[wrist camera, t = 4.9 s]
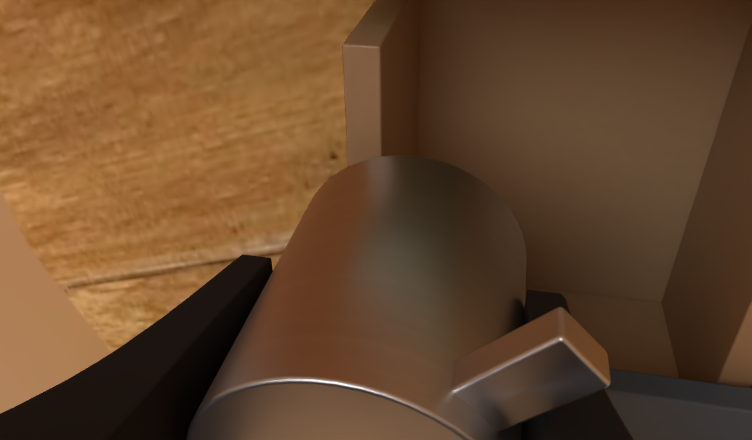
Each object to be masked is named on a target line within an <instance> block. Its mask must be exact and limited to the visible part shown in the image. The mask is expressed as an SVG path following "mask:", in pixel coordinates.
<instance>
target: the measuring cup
mask: <svg viewBox="0 0 752 440" xmlns="http://www.w3.org/2000/svg"><path fill="white" fill-rule="evenodd" d="M525 293H526V247H525V241H524V238H523V234H522V231H521V229H520V226H519V224H518V222H517V219H516V218H515V216H514V215H513V213H512V212H511V210H510V208H509V207H508V206H507V205H506V203H505V202H504V201H503V200H502V199H501V197H500V196H499V195H498V194H497V193H496V192H495V191H493V190H492V189H491V188H490V187H489V186H488V185H487V184H485V183H484V182H482V181H481V180H480V179H478V178H477V177H475V176H474V175H472V174H470V173H468V172H466V171H464V170H463V169H461V168H458V167H456V166H453V165H451V164H448V163H446V162H442V161H439V160H435V159H431V158H426V157H419V156H411V155H392V156H382V157H377V158H372V159H367V160H365V161H362V162H359V163H356V164H353V165H351V166H349V167H347V168H345V169H343V170H341V171H340V172H338V173H337V174H336V175H334V176H333V177H331V178H330V179H329V180H328V181H327V182H326V183H325V184H324V185H323V186H322V187H321V188H320V189H319V190H318V192H317V193H316V194H315V196H314V197H313V199H312V200H311V202H310V204H309V206H308V208H307V210H306V211H305V213H304V215H303V217H302V219H301V221H300V222H299V224H298V226H297V228H296V230H295V232H294V233H293V235H292V237H291V239H290V241H289V243H288V244H287V246H286V248H285V250H284V252H283V254H282V256H281V257H280V259H279V261H278V263H277V265H276V267H275V268H274V270H273V272H272V274H271V276H270V278H269V279H268V281H267V283H266V285H265V287H264V289H263V290H262V292H261V294H260V296H259V298H258V300H257V301H256V303H255V305H254V307H253V309H252V311H251V312H250V314H249V316H248V318H247V320H246V322H245V324H244V325H243V327H242V329H241V331H240V333H239V335H238V336H237V338H236V340H235V342H234V344H233V346H232V347H231V349H230V351H229V353H228V355H227V357H226V358H225V360H224V362H223V364H222V366H221V368H220V369H219V371H218V373H217V375H216V377H215V379H214V381H213V382H212V384H211V386H210V388H209V390H208V392H207V393H206V395H205V397H204V399H203V401H202V403H201V404H200V406H199V408H198V410H197V412H196V414H195V415H194V417H193V419H192V421H191V423H190V425H189V428H188V433H187V437H186V440H521V434H522V423H523V422H526V421H528V420H530V419H533V418H535V417H538V416H540V415H542V414H545V413H547V412H550V411H552V410H554V409H557V408H559V407H561V406H564V405H566V404H569V403H571V402H573V401H576V400H578V399H581V398H583V397H585V396H588V395H590V394H593V393H595V392H597V391H600V390H602V389H605V388H607V387H608V386H609V385H610V383H611V379H610V371H609V362H608V355H607V352H606V351H605V349H604V348H603V347H602V346H601V345H600V344H599V343H598V342H597V341H596V340H595V339H594V338H593V337H592V336H591V335H590V334H589V333H588V332H587V331H586V330H585V329H584V328H583V327H582V326H581V325H580V324H579V323H578V322H577V321H576V320H575V319H574V318H573V317H572V316H571V315H570V314H569V313H568V312H567V311H566V310H565V309H564V308H562V307H558V308H555V309H554V310H552V311H550V312H548V313H546V314H544V315H542V316H540V317H538V318H536V319H534V320H532V321H530V322H528V323H527V324H525V325H524V307H525Z"/></svg>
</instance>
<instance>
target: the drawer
mask: <svg viewBox="0 0 752 440" xmlns="http://www.w3.org/2000/svg"><path fill="white" fill-rule="evenodd" d="M342 49H343V71H344V92H345V114H346V135H347V157H348V167H349V166H351V165H353V164H356V163H359V162H362V161H365V160H367V159H372V158H377V157H382V156H392V155H411V156H419V157H426V158H431V159H435V160H439V161H442V162H446V163H448V164H451V165H453V166H456V167H458V168H461V169H463V170H464V171H466V172H468V173H470V174H472V175H474V176H475V177H477V178H478V179H480V180H481V181H482V182H484V183H485V184H487V185H488V186H489V187H490V188H491V189H492V190H493V191H495V192H496V193H497V194H498V195H499V196H500V197H501V199H502V200H503V201H504V202H505V203H506V205H507V206H508V207H509V208H510V210H511V212H512V213H513V215H514V216H515V218H516V219H517V222H518V224H519V226H520V229H521V231H522V234H523V238H524V241H525V247H526V293H525V301H526V294H527V289H528V290H536V291H544V292H552V293H561V294H562V295H563V296H564V298H565V299H566V301H567V305H568V308H569V311H570V314H571V316H572V317H573V318H574V319H575V320H576V321H577V322H578V323H579V324H580V325H581V326H582V327H583V328H584V329H585V330H586V331H587V332H588V333H589V334H590V335H591V336H592V337H593V338H594V339H595V340H596V341H597V342H598V343H599V344H600V345H601V346H602V347H603V348H604V349H605V351H606V352H607V355H608V362H609V368H610V369H617V370H624V371H632V372H639V373H646V374H653V375H660V376H667V377H674V378H682V379H689V380H696V381H703V382H710V383H717V384H725V385H732V386H739V387H746V388H751V386H752V0H375V2H374V3H373V4H372V6H371V7H370V8H369V10H368V11H367V12H366V14H365V15H364V16H363V18H362V19H361V20H360V22H359V23H358V25H357V26H356V27H355V29H354V30H353V31H352V33H351V34H350V35H349V37H348V38H347V39H346V41H345V42H344V43H343V46H342Z"/></svg>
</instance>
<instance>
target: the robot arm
mask: <svg viewBox="0 0 752 440" xmlns="http://www.w3.org/2000/svg"><path fill="white" fill-rule="evenodd" d="M272 272H273V270H272V262H271V258H266V257H258V256H250V255H241V256H240V257H239V258H237V259H236V260H235V261H234V262H232V263H231V264H230V265H228V266H227V267H226V268H225V269H224V270H222V271H221V272H220V273H219V274H217V275H216V276H215V277H214V278H212V279H211V280H210V281H209V282H207V283H206V284H205V285H204V286H202V287H201V288H200V289H199V290H197V291H196V292H195V293H194V294H192V295H191V296H190V297H189V298H187V299H186V300H185V301H183V302H182V303H181V304H180V305H178V306H177V307H176V308H174V309H173V310H172V311H171V312H169V313H168V314H167V315H165V316H164V317H163V318H161V319H160V320H158V321H157V322H156V323H154V324H153V325H151V326H150V327H149V328H147V329H146V330H144V331H143V332H142V333H140V334H139V335H137V336H136V337H134V338H133V339H132V340H130V341H129V342H127V343H126V344H125V345H123V346H122V347H120V348H119V349H117V350H116V351H114V352H113V353H111V354H109V355H108V356H106V357H105V358H103V359H102V360H100V361H98V362H97V363H95V364H93V365H91V366H90V367H88V368H86V369H85V370H83V371H81V372H80V373H78V374H76V375H75V376H73V377H71V378H69V379H68V380H66V381H64V382H62V383H60V384H58V385H56V386H55V387H53V388H51V389H49V390H47V391H45V392H43V393H41V394H39V395H37V396H35V397H33V398H31V399H29V400H28V401H26V402H24V403H22V404H20V405H18V406H16V407H14V408H12V409H10V410H7V411H5V412H3V413H1V414H0V440H186V437H187V433H188V428H189V425H190V423H191V421H192V419H193V417H194V415H195V414H196V412H197V410H198V408H199V406H200V404H201V403H202V401H203V399H204V397H205V395H206V393H207V392H208V390H209V388H210V386H211V384H212V382H213V381H214V379H215V377H216V375H217V373H218V371H219V369H220V368H221V366H222V364H223V362H224V360H225V358H226V357H227V355H228V353H229V351H230V349H231V347H232V346H233V344H234V342H235V340H236V338H237V336H238V335H239V333H240V331H241V329H242V327H243V325H244V324H245V322H246V320H247V318H248V316H249V314H250V312H251V311H252V309H253V307H254V305H255V303H256V301H257V300H258V298H259V296H260V294H261V292H262V290H263V289H264V287H265V285H266V283H267V281H268V279H269V278H270V276H271V274H272ZM558 307H562V308H564V309H565V310H566V311H567V312H568V313H569V314H570V311H569V308H568V305H567V301H566V299H565V298H564V296H563V295H562V294H561V293H552V292H544V291H536V290H528V289H527V294H526V301H525V307H524V325H525V324H527V323H528V322H530V321H532V320H534V319H536V318H538V317H540V316H542V315H544V314H546V313H548V312H550V311H552V310H554V309H555V308H558ZM570 315H571V314H570ZM521 440H634V439H633V437H632V436H631V434H630V433H629V431H628V429H627V428H626V426H625V424H624V423H623V421H622V419H621V418H620V416H619V414H618V412H617V411H616V409H615V407H614V406H613V404H612V402H611V400H610V398H609V396H608V395H607V393H606V391H605V389H602V390H600V391H597V392H595V393H593V394H590V395H588V396H585V397H583V398H581V399H578V400H576V401H573V402H571V403H569V404H566V405H564V406H561V407H559V408H557V409H554V410H552V411H550V412H547V413H545V414H542V415H540V416H538V417H535V418H533V419H530V420H528V421H526V422H523V423H522V434H521Z"/></svg>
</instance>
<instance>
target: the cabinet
mask: <svg viewBox="0 0 752 440" xmlns="http://www.w3.org/2000/svg"><path fill="white" fill-rule="evenodd" d="M609 371H610V379H611V383H610V385H609V386H608V387H607V388H605V391H606V393H607V395H608V396H609V398H610V400H611V402H612V404H613V406H614V407H615V409H616V411H617V412H618V414H619V416H620V418H621V419H622V421H623V423H624V424H625V426H626V428H627V429H628V431H629V433H630V434H631V436H632V437H633V439H634V440H752V386H751V388H746V387H739V386H732V385H725V384H717V383H710V382H703V381H696V380H689V379H682V378H674V377H667V376H660V375H653V374H646V373H639V372H632V371H624V370H617V369H610V368H609Z"/></svg>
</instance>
